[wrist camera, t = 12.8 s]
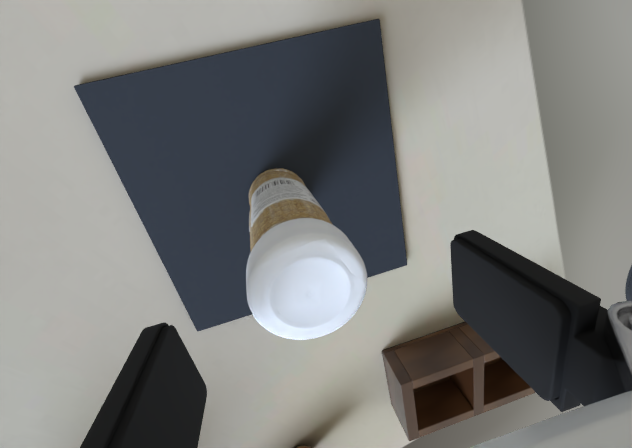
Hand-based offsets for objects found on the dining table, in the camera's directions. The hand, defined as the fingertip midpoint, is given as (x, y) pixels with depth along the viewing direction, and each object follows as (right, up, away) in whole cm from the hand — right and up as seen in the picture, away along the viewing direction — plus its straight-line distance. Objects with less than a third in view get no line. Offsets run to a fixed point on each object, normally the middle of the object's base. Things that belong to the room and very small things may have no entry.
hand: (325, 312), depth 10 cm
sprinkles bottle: (-3, +5, +13) cm, 15 cm away
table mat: (-3, +5, +14) cm, 15 cm away
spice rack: (+16, -12, +25) cm, 32 cm away
